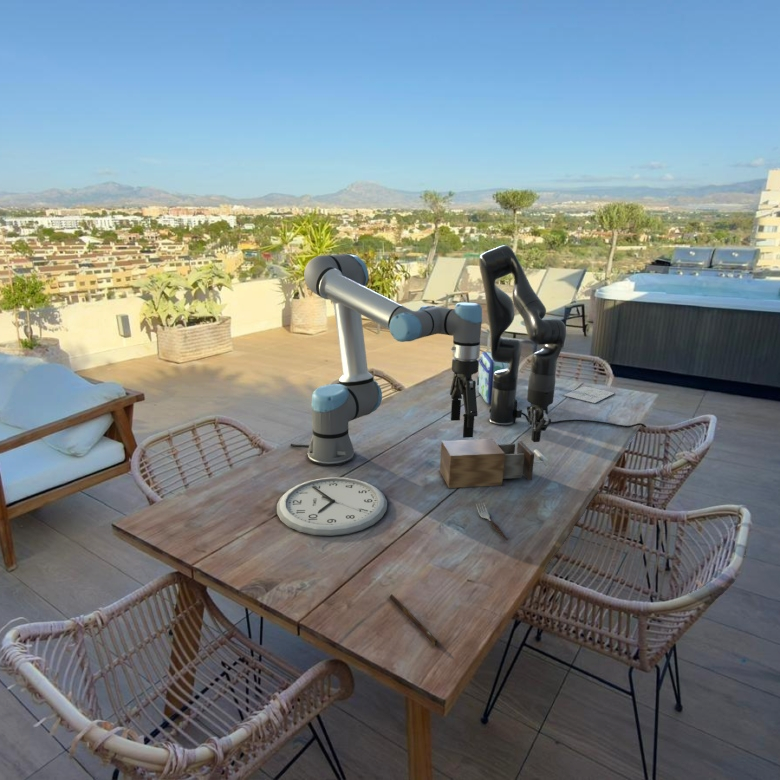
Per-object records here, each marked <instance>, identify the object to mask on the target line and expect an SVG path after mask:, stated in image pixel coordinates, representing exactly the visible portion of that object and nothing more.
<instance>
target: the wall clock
mask: <svg viewBox="0 0 780 780" xmlns="http://www.w3.org/2000/svg"><path fill="white" fill-rule="evenodd" d="M387 509H388V500H387V498H386V496H385V494H384V493H383V492H382V491H381V490H380V489H379V488H377V487H376V486H374V485H372V484H371V483H369V482H365V481H362V480H359V479H355V478H349V477H338V476H337V477H335V476H333V477H332V476H331V477H322V478H317V479H312V480H307V481H305V482H302V483H299V484H297V485H295V486H293V487H292V488H290V489H288V490H287V491H286V492H285V493H284V494H283V495H281V496H280V498H279V499H278V502H277V503H276V515H277V517H278V518H279V520H280V521H281V522H282V523H283V524H285V525H286V526H287V527H288V528H290V529H293V530H295V531H297V532H299V533H303V534H308V535H312V536H327V537H328V536H329V537H331V536H332V537H333V536H342V535H350V534H352V533H356V532H361V531H363V530H366V529H368V528H369V527H372V526H373V525H375V524H376V523H378V522H379V521H380V520H381V519H382V518H383V517H384V516H385V514H386V512H387Z"/></svg>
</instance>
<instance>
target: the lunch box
mask: <svg viewBox="0 0 780 780" xmlns="http://www.w3.org/2000/svg"><path fill="white" fill-rule="evenodd" d="M478 360H479V367H478V377H477V381H476V386H478V393H479V395H480V396H481V397H482V399H483V400H484V402H485V404H487V405H488V406H489V405H490V406H491V398H492V385H493V374H494V372H495V371H497V370H501V369H505V368H508V367H509V366H510V365H509V363H501V362H496V361H494V360H493V359H492V356H491V351H482V352H481V354H480V358H479V359H478Z"/></svg>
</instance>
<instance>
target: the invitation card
mask: <svg viewBox="0 0 780 780" xmlns="http://www.w3.org/2000/svg"><path fill="white" fill-rule="evenodd" d="M614 394H616V393H615V392H612V391H607V390H605V389H604V390H603V389H599V388H594V387H590V386H586V385H583V386H581V387H578V388H576V389H574V390H572V391H569V392H567V393H565V394H563V395H562V396H563V397H568V398H572V399H576V400H580V401H583V402H587V403H592V404H596V403H599V402H601V401H603V400H604V399H607V398H608V397H610V396H613V395H614Z"/></svg>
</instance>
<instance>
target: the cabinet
mask: <svg viewBox="0 0 780 780" xmlns="http://www.w3.org/2000/svg"><path fill="white" fill-rule="evenodd" d="M440 442H441V443H440V458H439V459H440V461H439V472H440V474H441V477H442V478H443V480H444V482H445V484H446V486H447V488H448V489H456V488H457V489H459V488H477V487H496V486H503V480H504V479H503V470H504V459H505V453H504V452H503V451H502V449H501V448H500V447H499V446H498V445H497V444H498V443H497V442H496V440H494V439H493V438H477V439H453V440H452V439H451V440H450V439H449V440H441V441H440Z"/></svg>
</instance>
